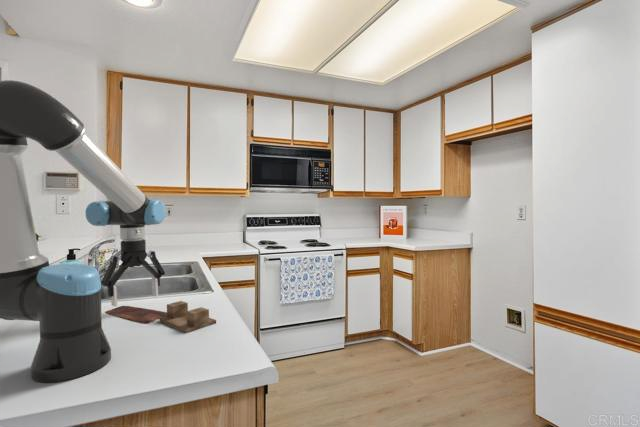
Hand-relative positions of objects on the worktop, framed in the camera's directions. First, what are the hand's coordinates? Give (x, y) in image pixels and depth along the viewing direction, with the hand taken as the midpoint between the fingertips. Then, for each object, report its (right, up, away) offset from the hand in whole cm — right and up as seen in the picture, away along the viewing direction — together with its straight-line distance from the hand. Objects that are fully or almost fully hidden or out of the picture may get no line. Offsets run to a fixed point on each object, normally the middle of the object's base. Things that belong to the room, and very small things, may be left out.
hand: (135, 300), depth 117 cm
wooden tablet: (0, -5, 0) cm, 5 cm away
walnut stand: (+22, -5, -10) cm, 24 cm away
